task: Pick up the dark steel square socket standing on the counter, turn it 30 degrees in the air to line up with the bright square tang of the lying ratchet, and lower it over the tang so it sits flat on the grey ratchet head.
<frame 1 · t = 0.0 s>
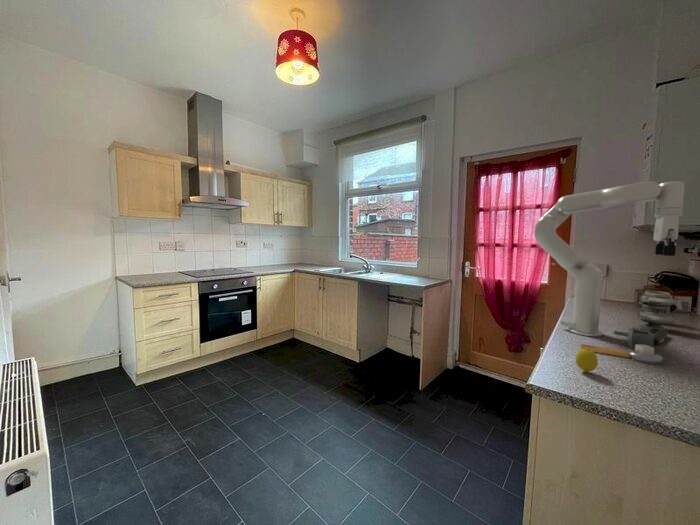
hand: (664, 255, 120), 37 cm above the countertop, tool pointing down, fingers open, 9 cm apart
door handle: (640, 338, 130), on the countertop
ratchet: (643, 359, 106), on the countertop
lemon: (585, 372, 95), on the countertop
apothecary jar: (654, 329, 142), on the countertop
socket: (639, 347, 117), on the countertop
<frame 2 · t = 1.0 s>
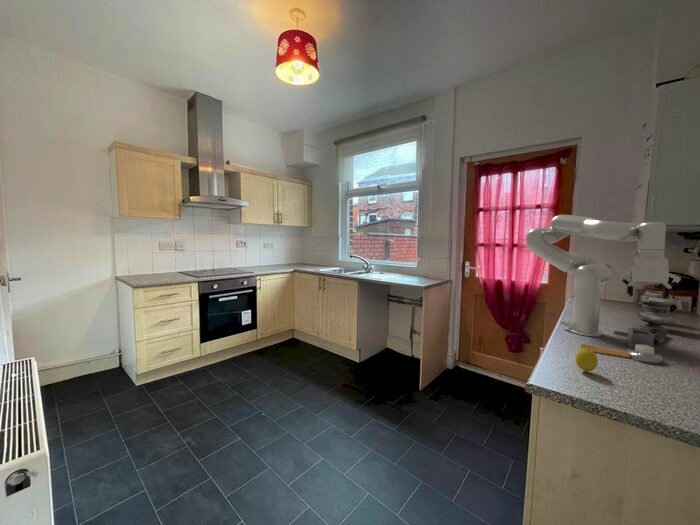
hand: (647, 297, 116), 20 cm above the countertop, tool pointing down, fingers open, 9 cm apart
nothing on the countertop moved.
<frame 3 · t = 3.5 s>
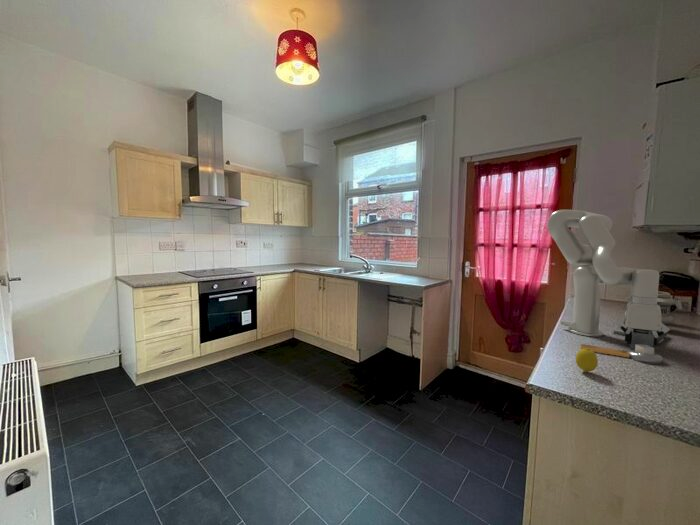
hand: (639, 344, 117), 1 cm above the countertop, tool pointing down, fingers closed on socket, 6 cm apart
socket: (639, 347, 117), on the countertop, touching gripper
everything else where it was.
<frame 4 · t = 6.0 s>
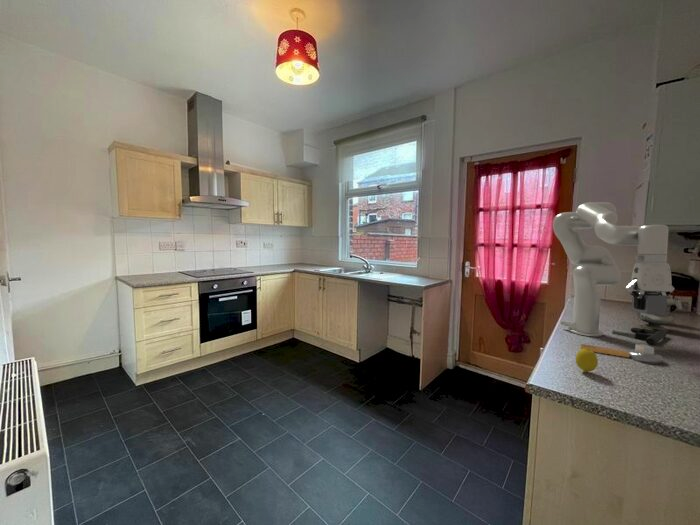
hand: (648, 308, 106), 18 cm above the countertop, tool pointing down, fingers closed on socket, 6 cm apart
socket: (648, 312, 106), point 17 cm above the countertop, touching gripper
everything else where it was.
when the fingers open (4 cm above the countertop, at t = 8.7 s): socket drops 1 cm, resting on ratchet.
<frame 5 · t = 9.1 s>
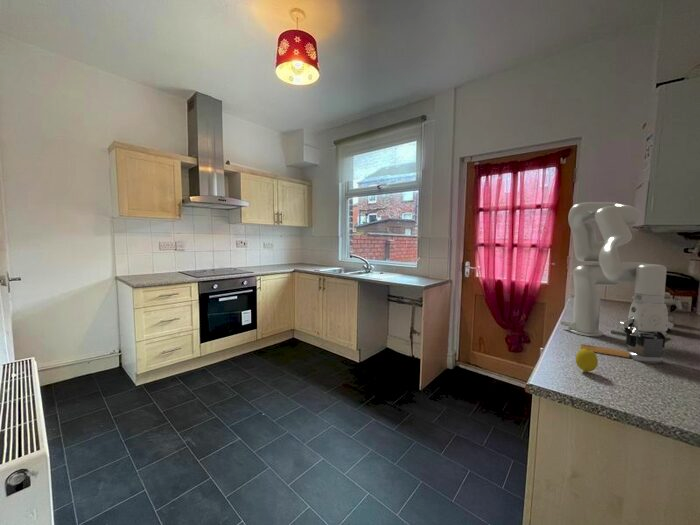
hand: (644, 345, 106), 5 cm above the countertop, tool pointing down, fingers open, 9 cm apart
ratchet: (643, 359, 106), on the countertop, touching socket
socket: (643, 353, 106), point 2 cm above the countertop, touching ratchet
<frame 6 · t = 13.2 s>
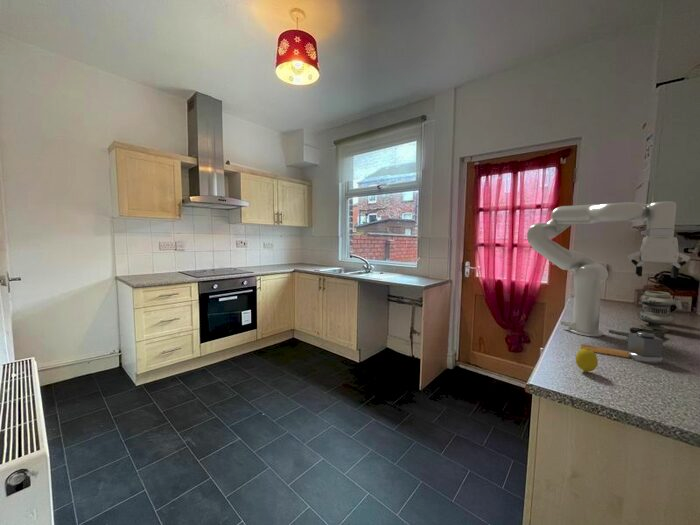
hand: (656, 276, 116), 28 cm above the countertop, tool pointing down, fingers open, 9 cm apart
at the end: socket 0.0 cm off-centre on the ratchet, point 2.0 cm above the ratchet's base; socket tilted 0°; the gripper is holding nothing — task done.
